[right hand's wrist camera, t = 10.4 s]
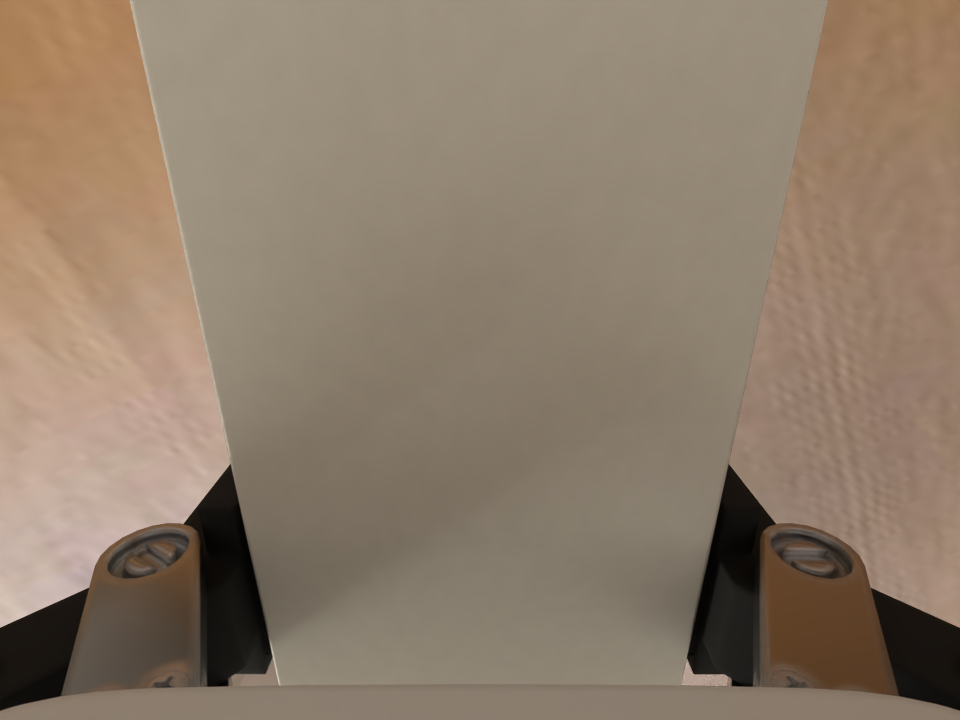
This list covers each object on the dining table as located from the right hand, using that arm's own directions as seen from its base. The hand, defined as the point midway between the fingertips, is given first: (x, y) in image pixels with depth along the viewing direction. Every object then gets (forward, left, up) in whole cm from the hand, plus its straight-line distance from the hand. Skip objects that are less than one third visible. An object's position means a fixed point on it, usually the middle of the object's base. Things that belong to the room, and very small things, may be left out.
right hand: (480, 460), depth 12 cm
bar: (+15, -25, -2) cm, 29 cm away
